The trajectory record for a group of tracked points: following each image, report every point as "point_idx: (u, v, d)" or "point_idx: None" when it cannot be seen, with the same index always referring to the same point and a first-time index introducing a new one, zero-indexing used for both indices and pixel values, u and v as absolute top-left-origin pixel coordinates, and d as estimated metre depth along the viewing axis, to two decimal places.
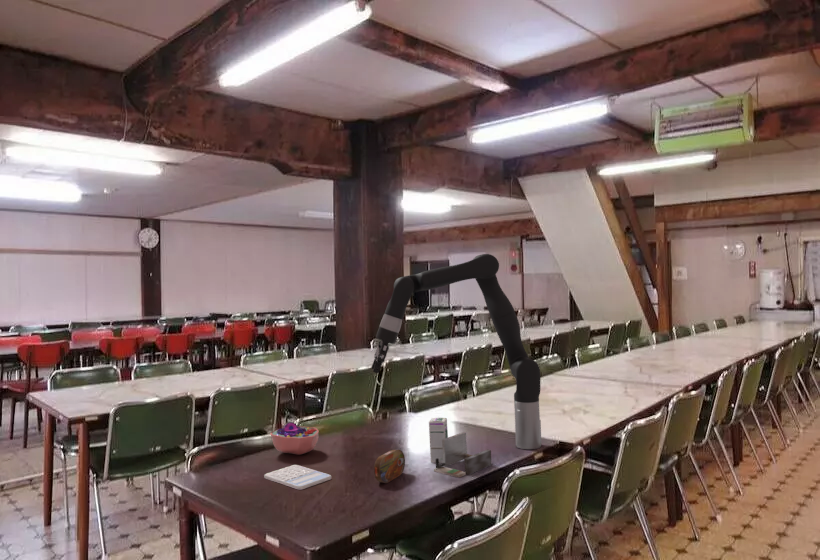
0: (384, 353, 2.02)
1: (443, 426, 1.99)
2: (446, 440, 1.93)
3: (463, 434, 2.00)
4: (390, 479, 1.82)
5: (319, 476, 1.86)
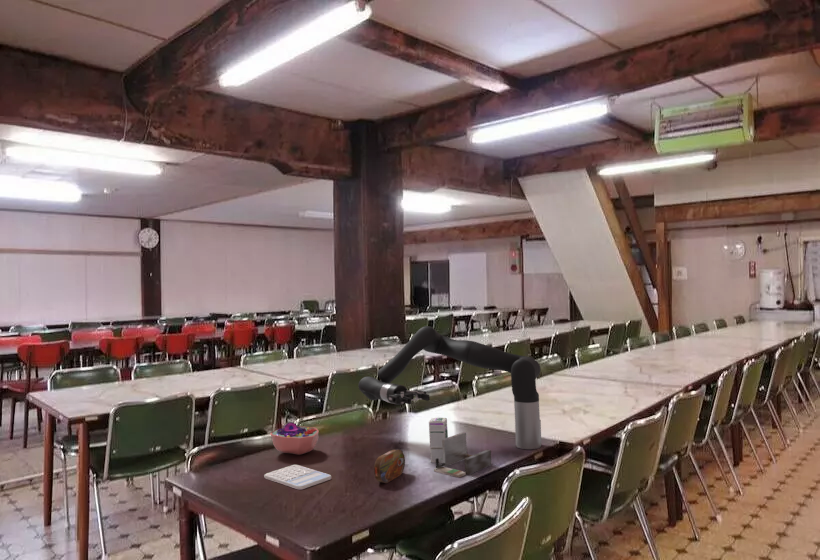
0: (392, 398, 2.11)
1: (443, 426, 1.99)
2: (446, 440, 1.93)
3: (463, 434, 2.00)
4: (390, 479, 1.82)
5: (319, 476, 1.86)
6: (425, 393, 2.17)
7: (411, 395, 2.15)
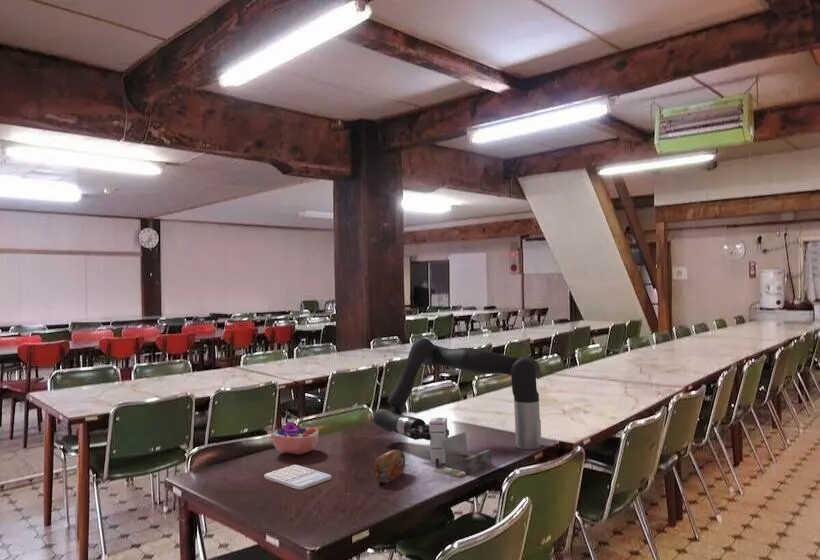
0: (410, 433, 2.03)
1: (443, 426, 1.99)
2: (446, 440, 1.93)
3: (463, 434, 2.00)
4: (390, 479, 1.82)
5: (319, 476, 1.86)
6: None
7: None
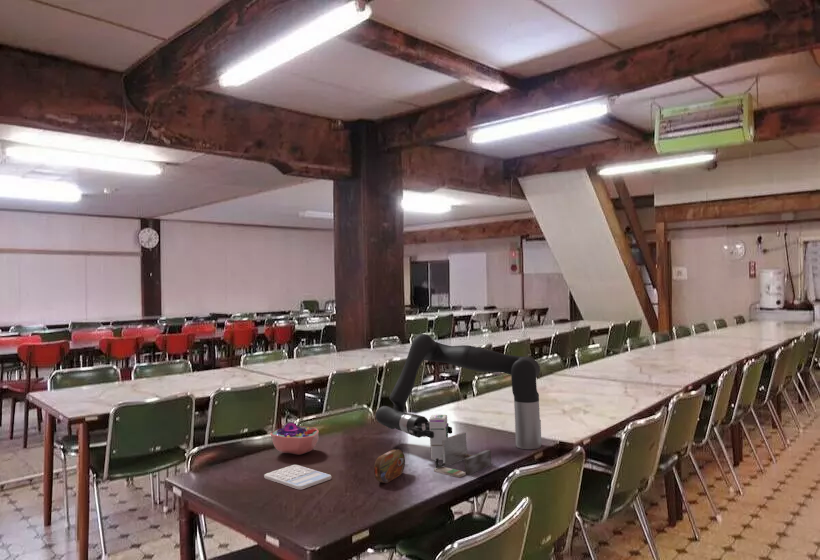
0: (413, 431, 2.02)
1: (443, 423, 1.98)
2: (446, 440, 1.93)
3: (463, 434, 2.00)
4: (390, 479, 1.82)
5: (319, 476, 1.86)
6: None
7: None
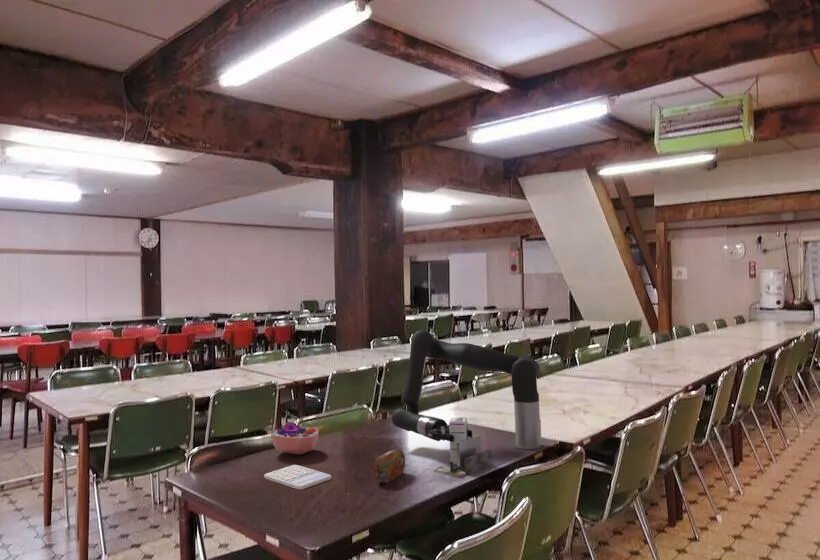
0: (432, 434, 1.96)
1: (464, 426, 1.93)
2: (460, 443, 1.89)
3: (477, 437, 1.96)
4: (390, 479, 1.82)
5: (319, 476, 1.86)
6: (467, 428, 2.02)
7: None
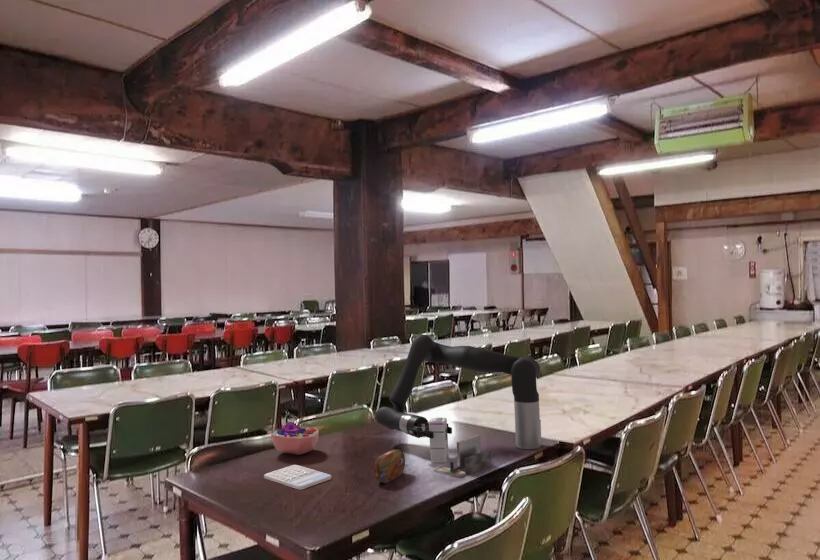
0: (413, 431, 2.02)
1: (443, 426, 1.99)
2: (461, 443, 1.89)
3: (477, 437, 1.96)
4: (390, 479, 1.82)
5: (319, 476, 1.86)
6: (447, 425, 2.08)
7: None
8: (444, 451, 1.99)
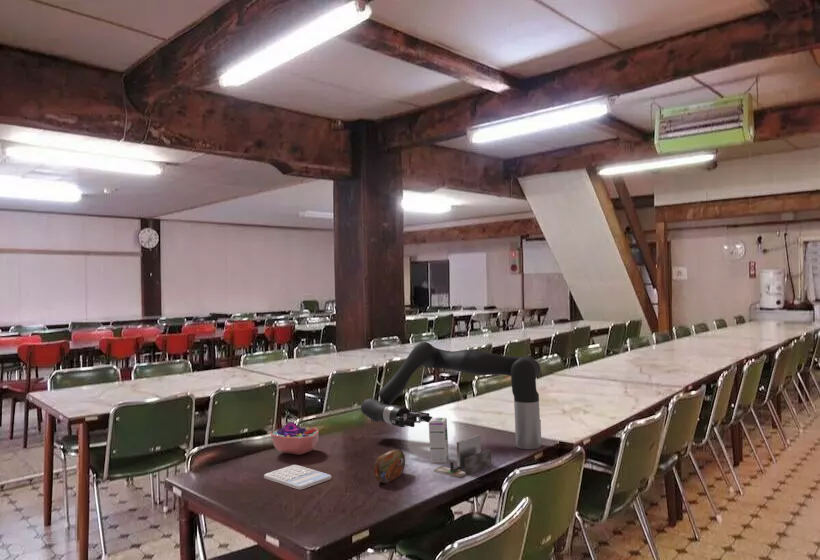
0: (395, 421, 2.11)
1: (443, 426, 1.99)
2: (461, 443, 1.89)
3: (477, 437, 1.96)
4: (390, 479, 1.82)
5: (319, 476, 1.86)
6: None
7: (414, 417, 2.15)
8: (444, 451, 1.98)
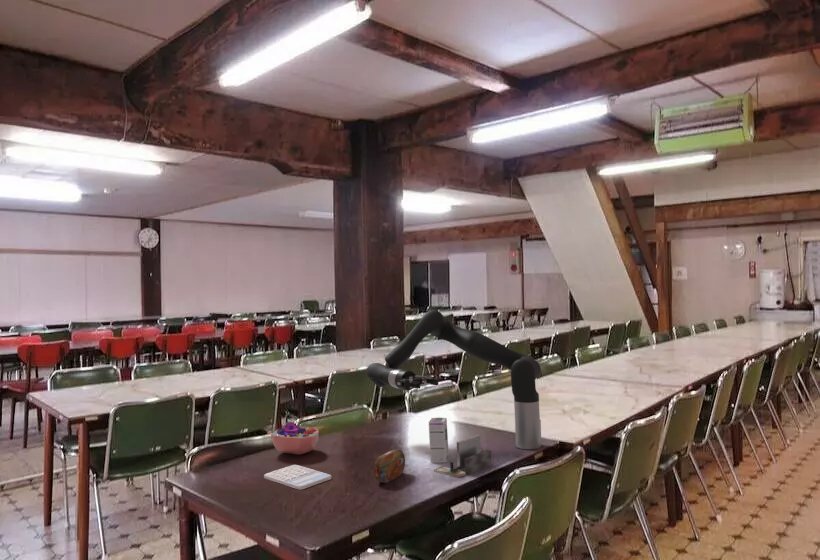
0: (400, 382, 2.10)
1: (443, 426, 1.99)
2: (461, 443, 1.89)
3: (477, 437, 1.96)
4: (390, 479, 1.82)
5: (319, 476, 1.86)
6: (434, 378, 2.15)
7: (420, 380, 2.13)
8: (444, 451, 1.98)
